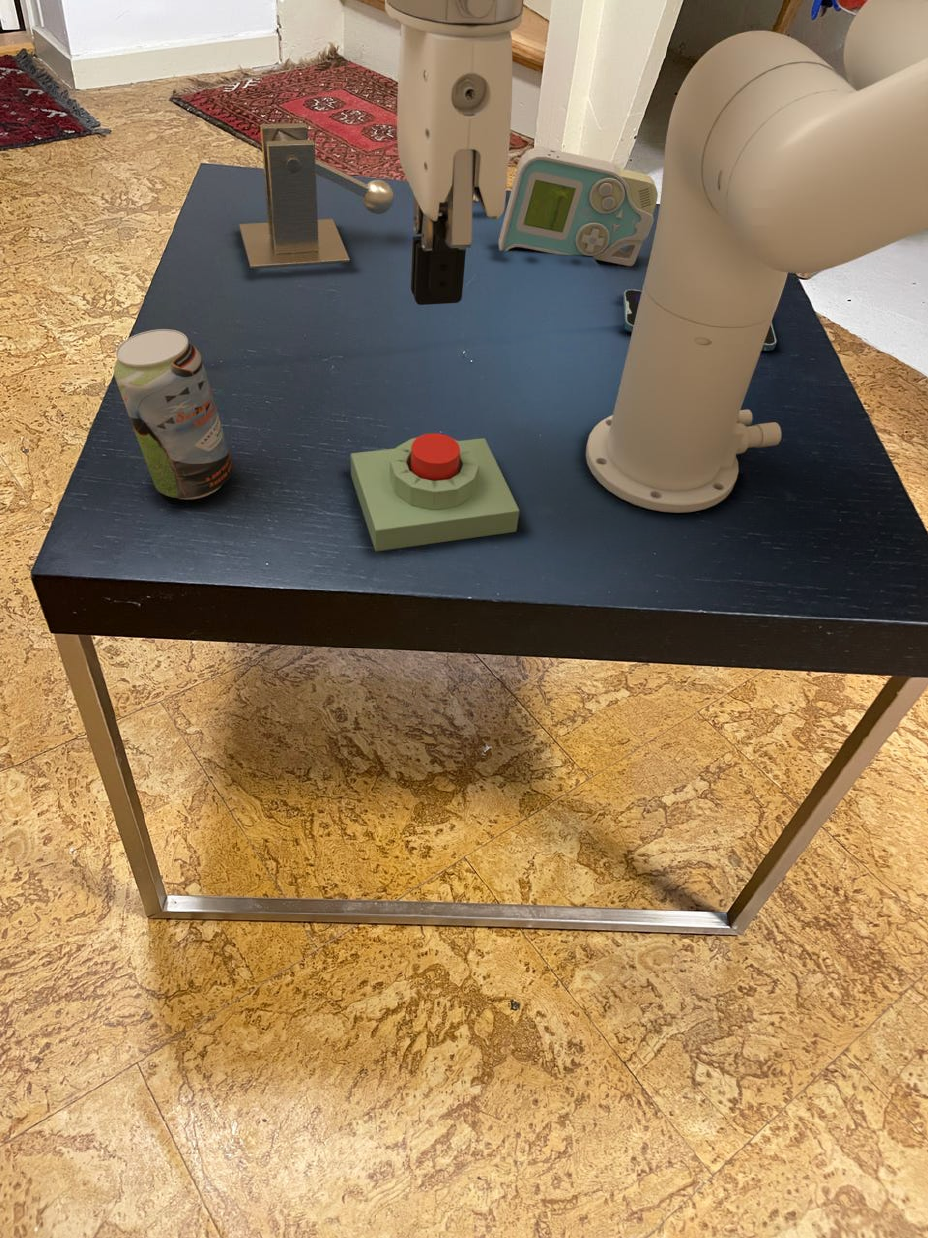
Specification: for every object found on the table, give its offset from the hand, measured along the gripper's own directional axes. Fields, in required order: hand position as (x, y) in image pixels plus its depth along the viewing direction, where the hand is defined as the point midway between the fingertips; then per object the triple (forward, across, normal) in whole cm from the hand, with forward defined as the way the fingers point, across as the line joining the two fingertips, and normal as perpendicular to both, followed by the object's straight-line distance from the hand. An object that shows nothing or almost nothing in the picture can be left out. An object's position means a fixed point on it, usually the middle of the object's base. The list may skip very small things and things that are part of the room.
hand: (435, 297), depth 64 cm
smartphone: (+16, +19, -32) cm, 40 cm away
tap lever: (+9, +38, +2) cm, 39 cm away
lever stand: (+16, +38, +6) cm, 41 cm away
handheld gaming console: (+16, +34, -23) cm, 44 cm away
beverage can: (+16, +2, +18) cm, 24 cm away
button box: (+16, -3, 0) cm, 16 cm away
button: (+12, -3, 0) cm, 12 cm away
